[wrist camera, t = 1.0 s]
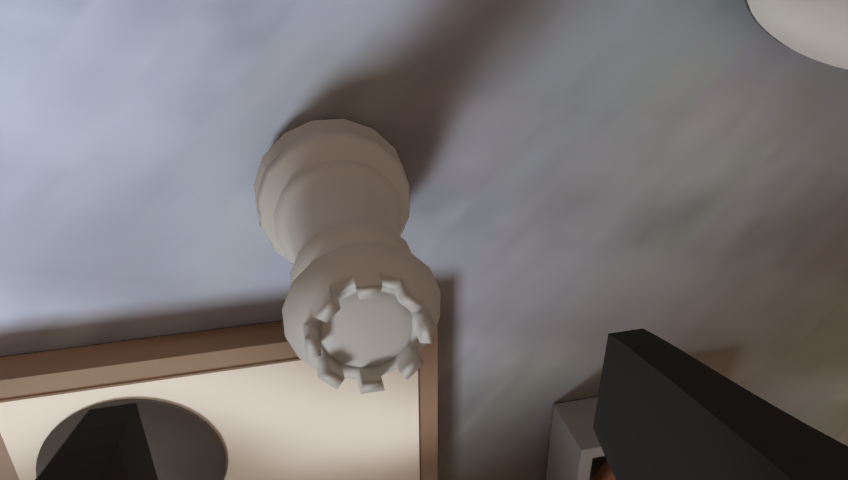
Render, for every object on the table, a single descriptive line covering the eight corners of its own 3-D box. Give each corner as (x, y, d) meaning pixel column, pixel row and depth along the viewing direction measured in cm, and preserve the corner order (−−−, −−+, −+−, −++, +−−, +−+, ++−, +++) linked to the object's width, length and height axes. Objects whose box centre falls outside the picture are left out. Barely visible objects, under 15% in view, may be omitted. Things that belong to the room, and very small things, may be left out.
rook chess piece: (317, 278, 20) (346, 465, 14) (220, 174, 18) (196, 334, 11) (431, 197, 20) (521, 347, 13) (347, 81, 18) (401, 187, 11)
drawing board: (430, 525, 27) (439, 556, 26) (67, 596, 24) (56, 635, 23) (429, 301, 22) (440, 326, 21) (-29, 360, 19) (-50, 393, 18)
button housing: (666, 485, 29) (699, 532, 27) (542, 510, 28) (565, 561, 26) (690, 381, 26) (728, 423, 24) (553, 404, 25) (581, 450, 23)
